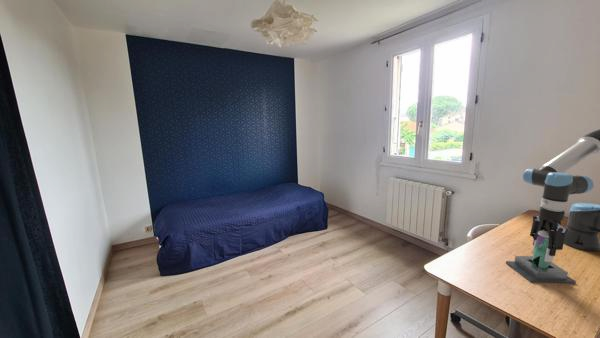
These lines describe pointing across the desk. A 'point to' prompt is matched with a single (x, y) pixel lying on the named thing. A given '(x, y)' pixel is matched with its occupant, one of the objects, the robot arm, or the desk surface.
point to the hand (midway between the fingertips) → (541, 257)
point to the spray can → (541, 249)
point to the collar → (539, 271)
